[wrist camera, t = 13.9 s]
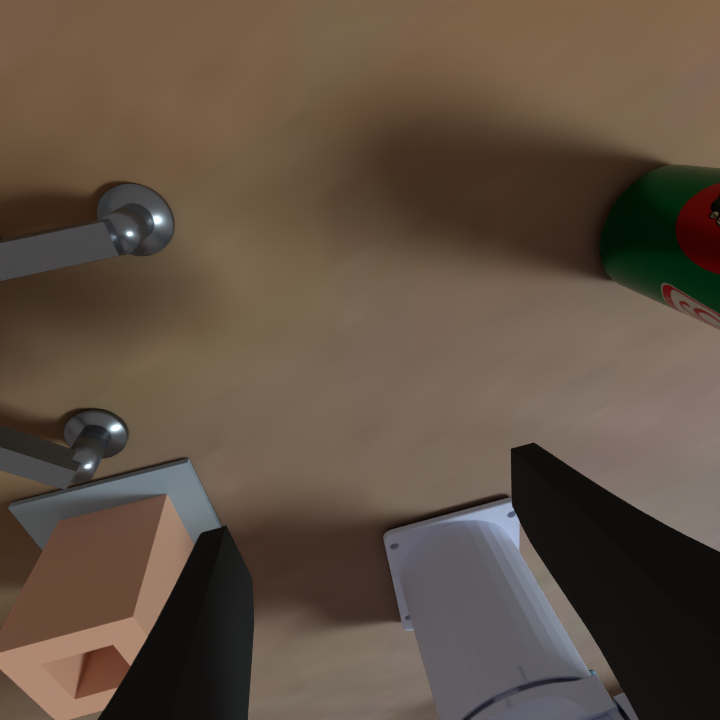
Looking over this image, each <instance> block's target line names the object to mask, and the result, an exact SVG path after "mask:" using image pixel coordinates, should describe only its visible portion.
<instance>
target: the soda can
mask: <svg viewBox="0 0 720 720" xmlns="http://www.w3.org/2000/svg"><path fill="white" fill-rule="evenodd" d="M600 255H601V260H602V264H603V267H604V269H605V271H606V272H607V274H608V275H609V277H611V278H612V279H613V280H614V281H615V282H617V283H618V284H620V285H622V286H624V287H627V288H629V289H631V290H633V291H635V292H638V293H640V294H642V295H644V296H646V297H649V298H651V299H653V300H655V301H657V302H660V303H662V304H664V305H666V306H668V307H671V308H673V309H675V310H677V311H679V312H682V313H684V314H686V315H688V316H690V317H693V318H695V319H697V320H699V321H701V322H704V323H706V324H708V325H710V326H712V327H715V328H717V329H719V330H720V168H710V167H700V166H689V165H669V166H664V167H661V168H658V169H655V170H653V171H651V172H649V173H647V174H645V175H644V176H642V177H641V178H639V179H638V180H637V181H635V182H634V183H633V184H632V185H631V186H630V187H629V188H628V189H626V190H625V191H624V193H623V194H622V195H621V196H620V197H619V198H618V199H617V201H616V202H615V204H614V205H613V207H612V208H611V210H610V212H609V214H608V216H607V218H606V220H605V223H604V225H603V229H602V233H601V240H600Z"/></svg>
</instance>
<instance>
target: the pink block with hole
mask: <svg viewBox="0 0 720 720" xmlns="http://www.w3.org/2000/svg"><path fill="white" fill-rule="evenodd" d="M193 547H194V544H193V542H192V540H191V538H190V536H189V534H188V532H187V530H186V529H185V527H184V525H183V523H182V521H181V519H180V517H179V515H178V513H177V512H176V510H175V508H174V506H173V504H172V502H171V500H170V498H169V496H168V495H167V494H165V495H161V496H157V497H153V498H149V499H145V500H141V501H137V502H133V503H129V504H125V505H121V506H117V507H113V508H109V509H105V510H101V511H97V512H93V513H89V514H85V515H81V516H77V517H73V518H69V519H65V520H61V521H58V523H57V525H56V527H55V529H54V530H53V532H52V534H51V536H50V538H49V540H48V542H47V544H46V545H45V547H44V549H43V551H42V553H41V555H40V557H39V559H38V560H37V562H36V564H35V566H34V568H33V570H32V572H31V574H30V575H29V577H28V579H27V581H26V583H25V585H24V587H23V589H22V590H21V592H20V594H19V596H18V598H17V600H16V602H15V604H14V605H13V607H12V609H11V611H10V613H9V615H8V617H7V619H6V620H5V622H4V624H3V626H2V628H1V630H0V669H1V670H2V671H3V672H4V673H5V674H6V675H7V676H8V677H9V678H10V679H11V680H12V681H14V682H15V683H16V684H17V685H18V686H19V687H20V688H21V689H22V690H23V691H24V692H25V693H27V694H28V695H29V696H30V697H31V698H32V699H33V700H34V701H35V702H36V703H37V704H38V705H39V706H41V707H42V708H43V709H44V710H45V711H46V712H47V713H48V714H49V715H50V716H51V717H52V718H54V719H55V720H70V719H73V718H77V717H80V716H84V715H87V714H91V713H95V712H98V711H102V710H104V709H105V707H106V706H107V704H108V703H109V701H110V699H111V698H112V696H113V695H114V693H115V691H116V690H117V688H118V687H119V685H120V683H121V682H122V680H123V678H124V677H125V675H126V673H127V672H128V670H129V668H130V666H131V665H132V663H133V661H134V659H135V658H136V656H137V654H138V653H139V651H140V649H141V647H142V646H143V644H144V642H145V640H146V639H147V637H148V635H149V633H150V631H151V630H152V628H153V626H154V624H155V622H156V620H157V618H158V616H159V615H160V613H161V611H162V609H163V607H164V605H165V603H166V601H167V599H168V597H169V596H170V594H171V592H172V590H173V588H174V586H175V584H176V582H177V580H178V578H179V576H180V574H181V572H182V570H183V568H184V566H185V563H186V561H187V559H188V557H189V555H190V553H191V551H192V549H193Z"/></svg>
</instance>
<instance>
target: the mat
mask: <svg viewBox="0 0 720 720" xmlns="http://www.w3.org/2000/svg"><path fill="white" fill-rule="evenodd" d="M165 494H167V495H168V496H169V498H170V500H171V502H172V504H173V506H174V508H175V510H176V512H177V513H178V515H179V517H180V519H181V521H182V523H183V525H184V527H185V529H186V530H187V532H188V534H189V536H190V538H191V540H192V542H193V544H194V545H195V543H196V541H197V539H198V537H199V535H200V534H201V533H202V532H205V531H209V530H213V529H216V528H220V527H221V525H220V523H219V520H218V518H217V516H216V514H215V512H214V510H213V508H212V506H211V504H210V502H209V500H208V498H207V495H206V493H205V491H204V489H203V487H202V485H201V483H200V481H199V479H198V477H197V475H196V473H195V470H194V468H193V466H192V464H191V462H190V460H189V458H187V459H183V460H179V461H175V462H171V463H167V464H163V465H159V466H155V467H151V468H147V469H143V470H139V471H135V472H131V473H127V474H123V475H119V476H116V477H112V478H108V479H104V480H100V481H96V482H92V483H88V484H84V485H80V486H76V487H72V488H68V489H66V490H60V491H56V492H52V493H48V494H44V495H40V496H36V497H32V498H28V499H24V500H20V501H16V502H12V503H11V504H10V505H9V507H8V509H9V510H10V511H11V512H12V514H13V515H14V516H15V517H16V519H17V520H18V521H19V522H20V524H21V525H22V526H23V527H24V529H25V530H26V531H27V532H28V534H29V535H30V536H31V537H32V538H33V540H34V541H35V542H36V543H37V545H38V546H39V547H40V548H41V550H42V551H43V549H44V547H45V545H46V544H47V542H48V540H49V538H50V536H51V534H52V532H53V530H54V529H55V527H56V525H57V523H58V521H61V520H65V519H69V518H73V517H77V516H81V515H85V514H89V513H93V512H97V511H101V510H105V509H109V508H113V507H117V506H121V505H125V504H129V503H133V502H137V501H141V500H145V499H149V498H153V497H157V496H161V495H165Z"/></svg>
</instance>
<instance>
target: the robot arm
mask: <svg viewBox="0 0 720 720" xmlns="http://www.w3.org/2000/svg"><path fill="white" fill-rule="evenodd" d="M511 487H512V497H510V498H505V499H502V500H498V501H494V502H491V503H487V504H483V505H480V506H476V507H472V508H469V509H465V510H461V511H458V512H454V513H450V514H447V515H443V516H439V517H436V518H432V519H428V520H425V521H421V522H417V523H413V524H410V525H406V526H402V527H399V528H395V529H391V530H389V531H387V532H386V533H385V534H384V536H383V539H384V544H385V548H386V553H387V558H388V562H389V567H390V571H391V576H392V580H393V585H394V589H395V594H396V599H397V603H398V608H399V612H400V617H401V621H402V625H403V628H404V629H405V630H407V631H410V630H414V632H415V636H416V639H417V643H418V646H419V650H420V653H421V657H422V660H423V664H424V667H425V671H426V674H427V678H428V681H429V685H430V688H431V692H432V695H433V699H434V702H435V706H436V709H437V713H438V716H439V720H720V552H719V551H717V550H715V549H713V548H710V547H708V546H706V545H704V544H702V543H700V542H698V541H696V540H694V539H692V538H690V537H688V536H686V535H684V534H682V533H680V532H678V531H676V530H675V529H673V528H671V527H669V526H667V525H665V524H663V523H662V522H660V521H658V520H656V519H655V518H653V517H651V516H649V515H647V514H646V513H644V512H642V511H640V510H639V509H637V508H635V507H634V506H632V505H630V504H628V503H627V502H625V501H623V500H622V499H620V498H619V497H617V496H615V495H614V494H612V493H611V492H609V491H607V490H606V489H604V488H602V487H601V486H599V485H598V484H596V483H595V482H593V481H591V480H590V479H588V478H587V477H585V476H584V475H582V474H581V473H579V472H578V471H576V470H575V469H573V468H572V467H570V466H569V465H567V464H566V463H564V462H563V461H561V460H560V459H558V458H557V457H555V456H554V455H552V454H551V453H549V452H548V451H546V450H545V449H543V448H542V447H540V446H538V445H537V444H535V443H530V444H527V445H523V446H519V447H516V448H512V449H511ZM519 521H520V523H521V525H522V527H523V529H524V531H525V533H526V535H527V537H528V539H529V540H530V542H531V544H532V546H533V547H534V549H535V550H536V552H537V553H538V555H539V556H540V558H541V559H542V561H543V562H544V564H545V566H546V567H547V569H548V570H549V572H550V573H551V575H552V576H553V578H554V579H555V581H556V582H557V584H558V585H559V587H560V588H561V590H562V591H563V593H564V594H565V596H566V597H567V599H568V600H569V602H570V603H571V605H572V606H573V608H574V609H575V611H576V612H577V614H578V615H579V617H580V618H581V620H582V621H583V623H584V624H585V626H586V627H587V629H588V630H589V632H590V633H591V635H592V637H593V638H594V640H595V642H596V643H597V645H598V646H599V648H600V650H601V651H602V653H603V655H604V657H605V659H606V660H607V662H608V664H609V666H610V668H611V670H612V671H613V673H614V675H615V677H616V679H617V680H618V682H619V684H620V686H621V688H622V689H623V691H624V693H621V694H619V695H616V696H614V697H613V699H614V702H613V701H612V699H611V697H610V696H609V694H608V692H607V691H606V689H605V687H604V686H603V684H602V682H601V680H600V679H599V677H598V676H597V675H591V674H590V672H589V670H588V668H587V667H586V665H585V663H584V662H583V660H582V658H581V657H580V655H579V653H578V651H577V650H576V648H575V646H574V645H573V643H572V641H571V639H570V638H569V636H568V634H567V633H566V631H565V629H564V627H563V626H562V624H561V622H560V621H559V619H558V617H557V615H556V614H555V612H554V610H553V609H552V607H551V605H550V603H549V602H548V600H547V598H546V597H545V595H544V593H543V591H542V590H541V588H540V586H539V585H538V583H537V581H536V579H535V578H534V576H533V574H532V573H531V571H530V569H529V568H528V566H527V564H526V562H525V561H524V559H523V557H522V556H521V554H520V552H519ZM253 632H254V607H253V587H252V577H251V575H250V573H249V571H248V569H247V567H246V565H245V563H244V561H243V559H242V557H241V555H240V553H239V551H238V549H237V546H236V544H235V542H234V540H233V538H232V536H231V534H230V532H229V530H228V528H227V526H224V527H220V528H216V529H213V530H209V531H205V532H202V533H201V534H200V535H199V537H198V539H197V541H196V543H195V545H194V547H193V549H192V551H191V553H190V555H189V557H188V559H187V561H186V563H185V566H184V568H183V570H182V572H181V574H180V576H179V578H178V580H177V582H176V584H175V586H174V588H173V590H172V592H171V594H170V596H169V597H168V599H167V601H166V603H165V605H164V607H163V609H162V611H161V613H160V615H159V616H158V618H157V620H156V622H155V624H154V626H153V628H152V630H151V631H150V633H149V635H148V637H147V639H146V640H145V642H144V644H143V646H142V647H141V649H140V651H139V653H138V654H137V656H136V658H135V659H134V661H133V663H132V665H131V666H130V668H129V670H128V672H127V673H126V675H125V677H124V678H123V680H122V682H121V683H120V685H119V687H118V688H117V690H116V691H115V693H114V695H113V696H112V698H111V699H110V701H109V703H108V704H107V706H106V707H105V709H104V710H103V712H102V713H101V715H100V717H99V718H98V720H248V706H249V692H250V678H251V663H252V648H253ZM614 703H615V704H614ZM615 705H616V706H615Z"/></svg>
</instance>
